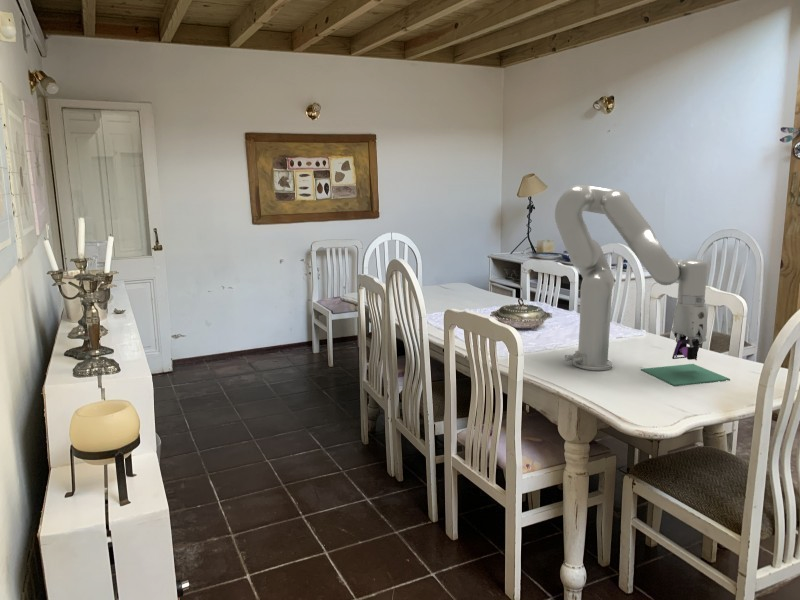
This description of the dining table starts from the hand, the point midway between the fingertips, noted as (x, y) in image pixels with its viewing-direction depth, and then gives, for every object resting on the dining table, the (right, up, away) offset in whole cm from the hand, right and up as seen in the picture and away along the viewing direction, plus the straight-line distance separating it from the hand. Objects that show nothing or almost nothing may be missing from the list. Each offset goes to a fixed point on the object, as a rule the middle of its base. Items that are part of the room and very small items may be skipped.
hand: (686, 356), depth 188 cm
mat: (0, -6, +1) cm, 6 cm away
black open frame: (+1, -1, +1) cm, 2 cm away
